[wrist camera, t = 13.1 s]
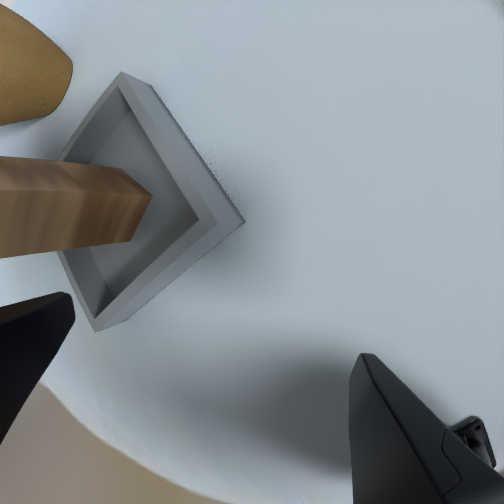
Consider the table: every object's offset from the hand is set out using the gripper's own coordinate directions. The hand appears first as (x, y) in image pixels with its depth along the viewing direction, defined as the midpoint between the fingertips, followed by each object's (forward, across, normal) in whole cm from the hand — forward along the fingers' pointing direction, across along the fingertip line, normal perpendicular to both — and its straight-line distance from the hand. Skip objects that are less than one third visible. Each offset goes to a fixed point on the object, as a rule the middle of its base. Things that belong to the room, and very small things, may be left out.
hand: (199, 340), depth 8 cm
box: (+14, +10, 0) cm, 17 cm away
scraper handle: (+13, +10, 0) cm, 17 cm away
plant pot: (+21, +26, -11) cm, 35 cm away
